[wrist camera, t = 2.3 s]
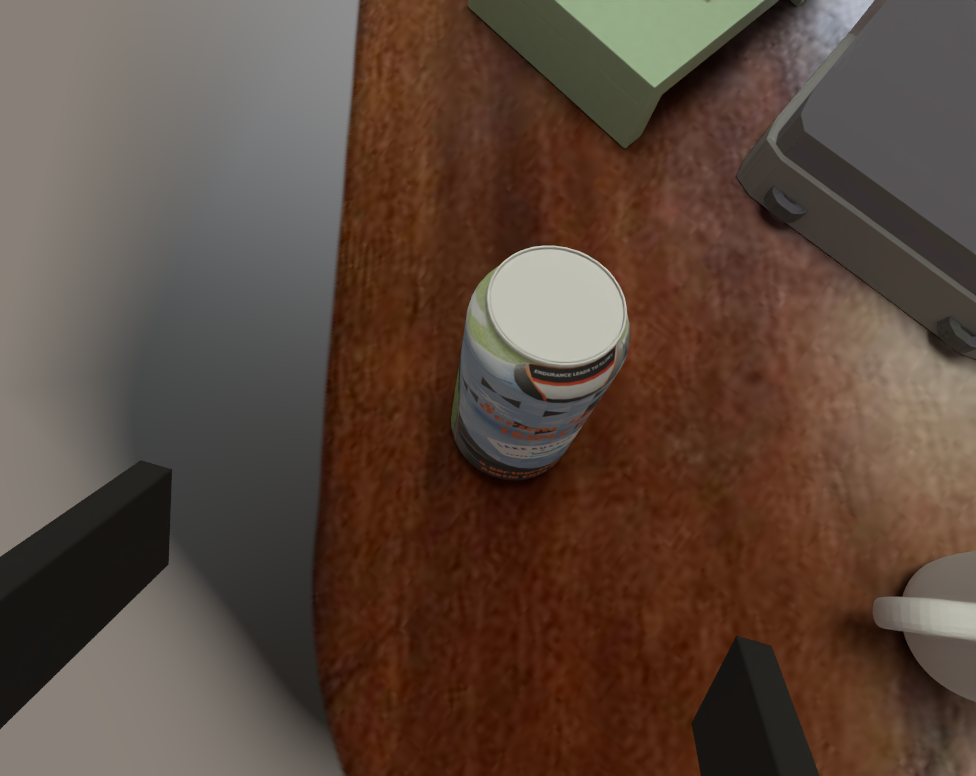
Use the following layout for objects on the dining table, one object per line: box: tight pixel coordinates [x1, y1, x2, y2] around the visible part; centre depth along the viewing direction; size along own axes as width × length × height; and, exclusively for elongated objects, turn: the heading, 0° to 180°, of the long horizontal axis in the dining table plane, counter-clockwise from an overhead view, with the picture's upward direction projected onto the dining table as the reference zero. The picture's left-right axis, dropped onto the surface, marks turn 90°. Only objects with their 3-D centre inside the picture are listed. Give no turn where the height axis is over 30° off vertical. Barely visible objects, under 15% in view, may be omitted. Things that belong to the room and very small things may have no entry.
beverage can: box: [451, 246, 630, 480], centre depth 26 cm, size 6×7×12 cm
